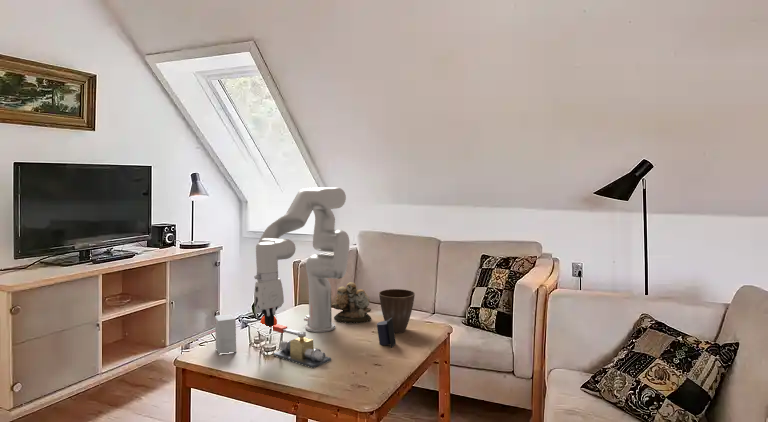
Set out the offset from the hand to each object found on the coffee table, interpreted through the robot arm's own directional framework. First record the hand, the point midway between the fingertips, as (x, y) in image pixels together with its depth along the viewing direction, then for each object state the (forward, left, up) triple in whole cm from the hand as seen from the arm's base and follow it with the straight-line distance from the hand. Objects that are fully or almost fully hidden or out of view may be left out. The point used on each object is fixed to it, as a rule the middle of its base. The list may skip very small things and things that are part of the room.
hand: (269, 325), depth 193 cm
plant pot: (+20, +51, -11) cm, 56 cm away
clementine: (-23, +19, -11) cm, 32 cm away
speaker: (+27, +34, -11) cm, 45 cm away
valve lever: (+6, +4, -3) cm, 8 cm away
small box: (-16, -8, -11) cm, 21 cm away
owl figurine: (-6, +52, -11) cm, 54 cm away
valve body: (+12, +4, -11) cm, 17 cm away
